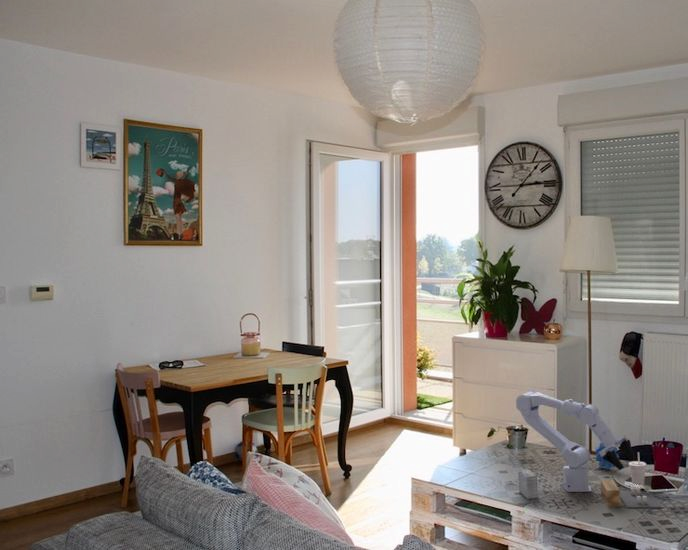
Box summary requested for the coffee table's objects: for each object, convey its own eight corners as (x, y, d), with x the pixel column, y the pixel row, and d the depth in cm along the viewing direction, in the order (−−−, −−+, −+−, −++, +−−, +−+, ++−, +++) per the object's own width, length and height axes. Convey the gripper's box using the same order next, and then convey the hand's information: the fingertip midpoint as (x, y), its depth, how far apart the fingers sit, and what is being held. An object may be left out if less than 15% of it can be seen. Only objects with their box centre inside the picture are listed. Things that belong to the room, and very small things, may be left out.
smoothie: (648, 491, 279) (647, 455, 278) (631, 491, 280) (629, 454, 280) (645, 485, 285) (644, 450, 285) (628, 485, 287) (626, 450, 286)
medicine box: (538, 498, 279) (537, 475, 278) (527, 499, 278) (526, 476, 277) (529, 491, 286) (528, 469, 286) (519, 492, 286) (518, 470, 285)
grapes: (625, 470, 304) (624, 442, 304) (615, 474, 301) (613, 445, 300) (603, 464, 314) (601, 436, 314) (592, 467, 311) (591, 439, 310)
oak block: (607, 506, 266) (607, 490, 266) (601, 495, 278) (600, 479, 278) (620, 506, 266) (619, 490, 265) (613, 495, 277) (612, 479, 277)
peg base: (627, 508, 263) (626, 500, 263) (617, 492, 279) (616, 485, 279) (662, 508, 262) (661, 499, 262) (650, 492, 277) (649, 484, 277)
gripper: (598, 437, 271) (622, 468, 266) (621, 421, 279) (646, 452, 274) (587, 444, 277) (611, 476, 272) (611, 429, 284) (634, 459, 279)
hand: (628, 464), depth 273 cm, fingers open, 7 cm apart
